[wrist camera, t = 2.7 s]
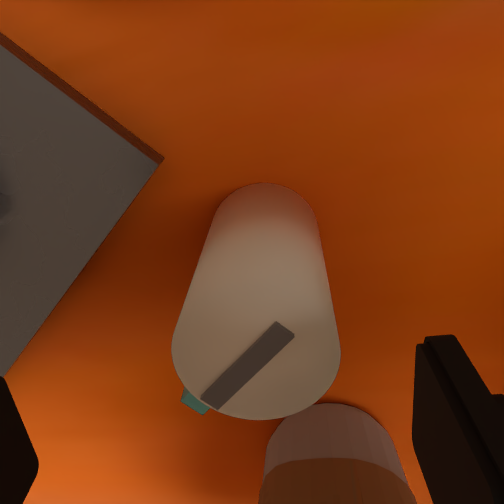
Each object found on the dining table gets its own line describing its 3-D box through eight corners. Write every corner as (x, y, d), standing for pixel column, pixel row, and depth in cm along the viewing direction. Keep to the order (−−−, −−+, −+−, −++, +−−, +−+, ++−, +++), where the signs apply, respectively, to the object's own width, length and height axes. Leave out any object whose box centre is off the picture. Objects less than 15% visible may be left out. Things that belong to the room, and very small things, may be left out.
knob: (256, 160, 18) (240, 251, 11) (341, 228, 19) (378, 353, 12) (179, 253, 20) (121, 384, 13) (259, 311, 21) (248, 463, 14)
